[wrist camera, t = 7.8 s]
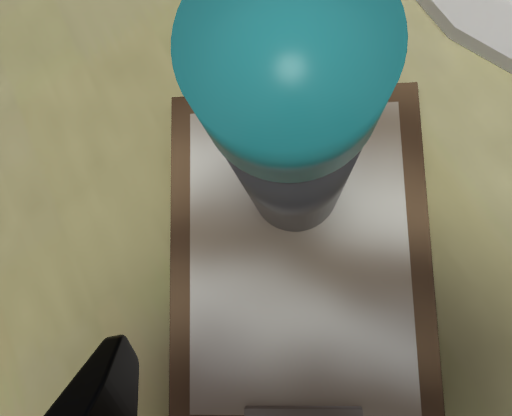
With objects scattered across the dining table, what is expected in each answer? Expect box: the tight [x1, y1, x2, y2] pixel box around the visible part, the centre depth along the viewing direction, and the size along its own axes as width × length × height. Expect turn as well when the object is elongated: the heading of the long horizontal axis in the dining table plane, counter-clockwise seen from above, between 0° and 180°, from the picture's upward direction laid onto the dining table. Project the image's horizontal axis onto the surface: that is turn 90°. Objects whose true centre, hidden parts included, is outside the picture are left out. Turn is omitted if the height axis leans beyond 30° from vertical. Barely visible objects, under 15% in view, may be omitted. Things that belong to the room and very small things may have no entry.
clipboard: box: [169, 82, 445, 416], centre depth 21 cm, size 16×12×1 cm
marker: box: [171, 0, 408, 232], centre depth 14 cm, size 4×4×14 cm
